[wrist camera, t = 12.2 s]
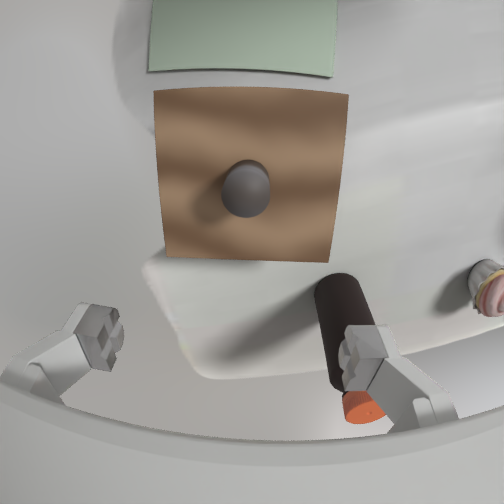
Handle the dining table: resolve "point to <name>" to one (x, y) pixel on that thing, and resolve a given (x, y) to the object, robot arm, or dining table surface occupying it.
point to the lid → (249, 171)
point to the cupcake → (487, 288)
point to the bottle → (333, 328)
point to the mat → (244, 35)
